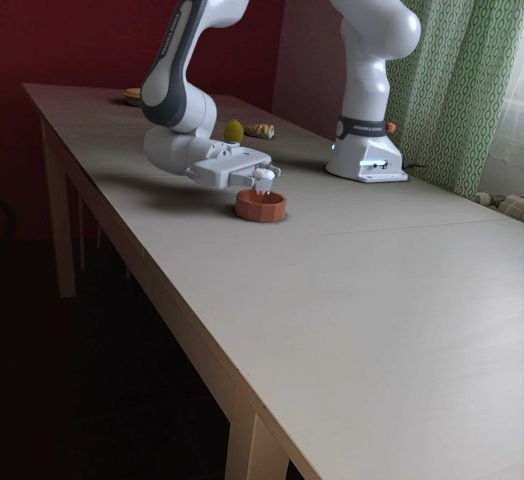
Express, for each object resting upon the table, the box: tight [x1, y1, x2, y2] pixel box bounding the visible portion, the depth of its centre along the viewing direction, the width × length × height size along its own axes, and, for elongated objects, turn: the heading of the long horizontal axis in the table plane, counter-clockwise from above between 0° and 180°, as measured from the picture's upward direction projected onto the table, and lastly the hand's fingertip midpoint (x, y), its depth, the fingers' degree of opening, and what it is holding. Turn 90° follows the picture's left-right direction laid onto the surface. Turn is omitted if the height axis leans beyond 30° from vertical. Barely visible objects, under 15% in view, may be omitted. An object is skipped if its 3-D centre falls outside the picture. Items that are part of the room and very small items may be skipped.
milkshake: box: [251, 161, 275, 204], centre depth 108 cm, size 4×5×10 cm
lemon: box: [223, 118, 244, 144], centre depth 154 cm, size 6×6×8 cm
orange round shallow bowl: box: [234, 188, 288, 223], centre depth 110 cm, size 10×10×4 cm
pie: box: [122, 87, 141, 108], centre depth 197 cm, size 15×16×5 cm
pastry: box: [244, 123, 275, 140], centre depth 173 cm, size 9×7×4 cm
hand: (266, 178), depth 107 cm, fingers open, 8 cm apart
